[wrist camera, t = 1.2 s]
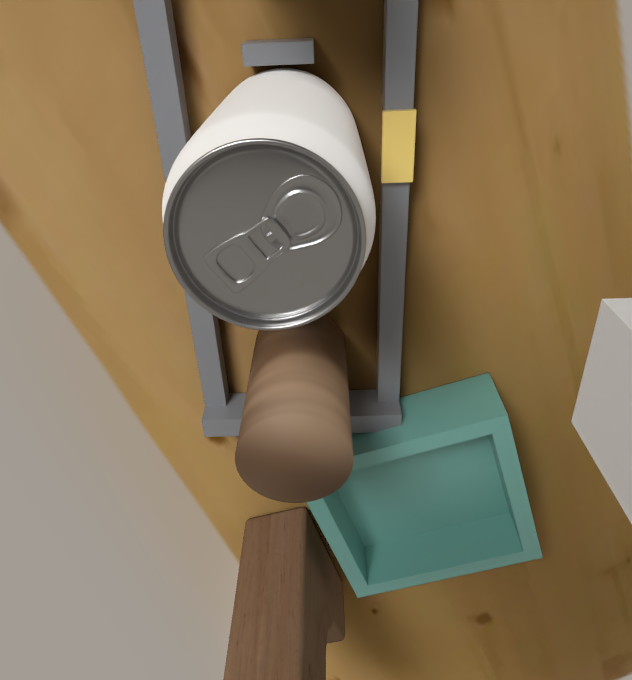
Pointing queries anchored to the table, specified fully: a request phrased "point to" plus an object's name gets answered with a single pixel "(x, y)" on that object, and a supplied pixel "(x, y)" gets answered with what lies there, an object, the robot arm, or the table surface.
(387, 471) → the tray
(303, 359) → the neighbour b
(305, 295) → the can
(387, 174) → the grey flat open frame
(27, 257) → the table surface
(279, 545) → the wooden block
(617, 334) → the robot arm
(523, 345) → the table surface
